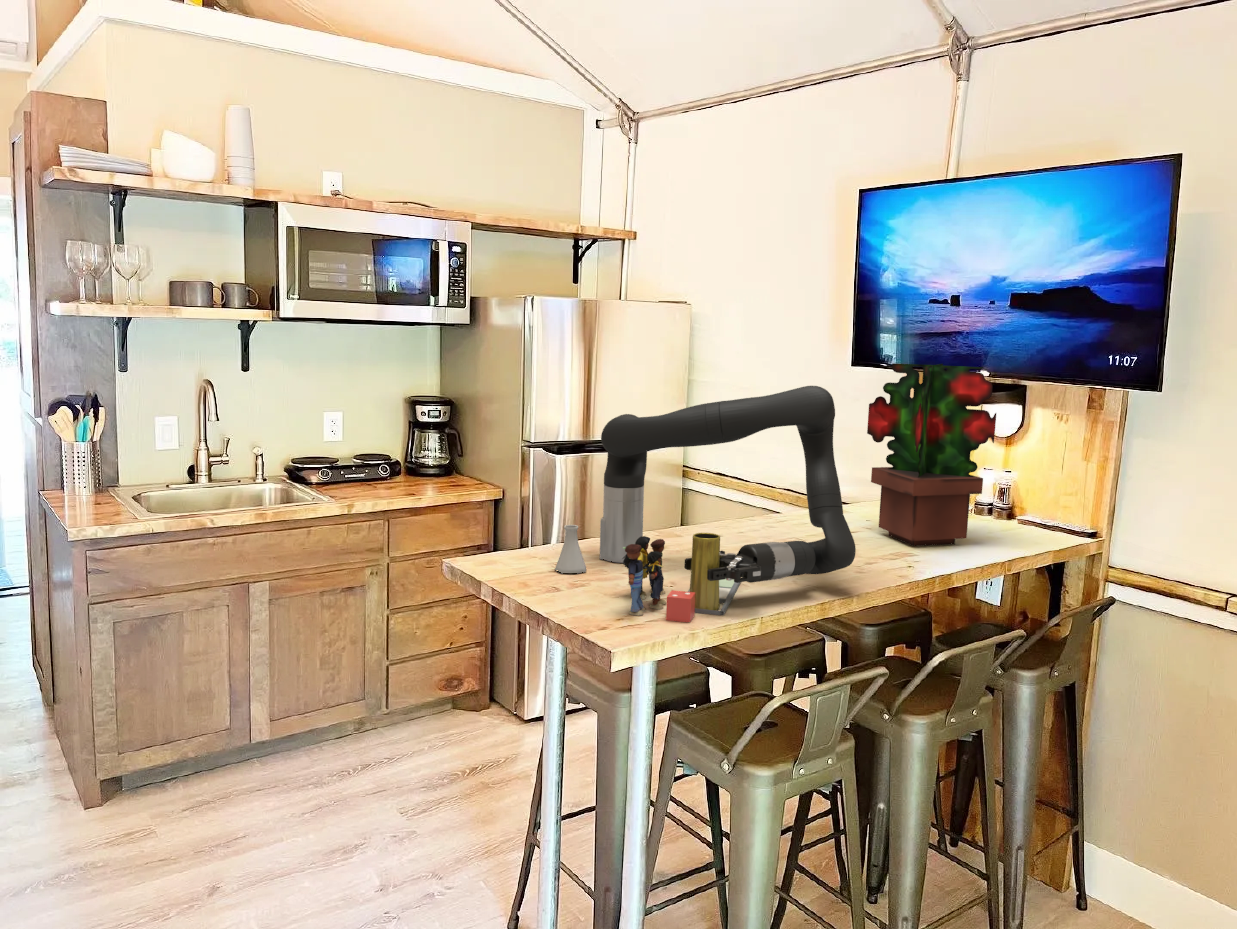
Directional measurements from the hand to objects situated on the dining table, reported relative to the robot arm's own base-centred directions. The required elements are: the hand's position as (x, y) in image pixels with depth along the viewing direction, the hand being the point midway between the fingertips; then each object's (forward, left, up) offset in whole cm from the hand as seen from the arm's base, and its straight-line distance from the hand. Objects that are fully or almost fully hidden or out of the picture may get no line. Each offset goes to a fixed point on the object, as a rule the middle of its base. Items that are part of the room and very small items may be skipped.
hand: (696, 569), depth 185 cm
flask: (-31, +18, -8) cm, 37 cm away
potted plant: (+45, +77, -8) cm, 90 cm away
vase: (+1, +1, -8) cm, 8 cm away
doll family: (-10, +1, -8) cm, 13 cm away
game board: (+1, +9, -8) cm, 12 cm away
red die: (-2, -7, -8) cm, 10 cm away
